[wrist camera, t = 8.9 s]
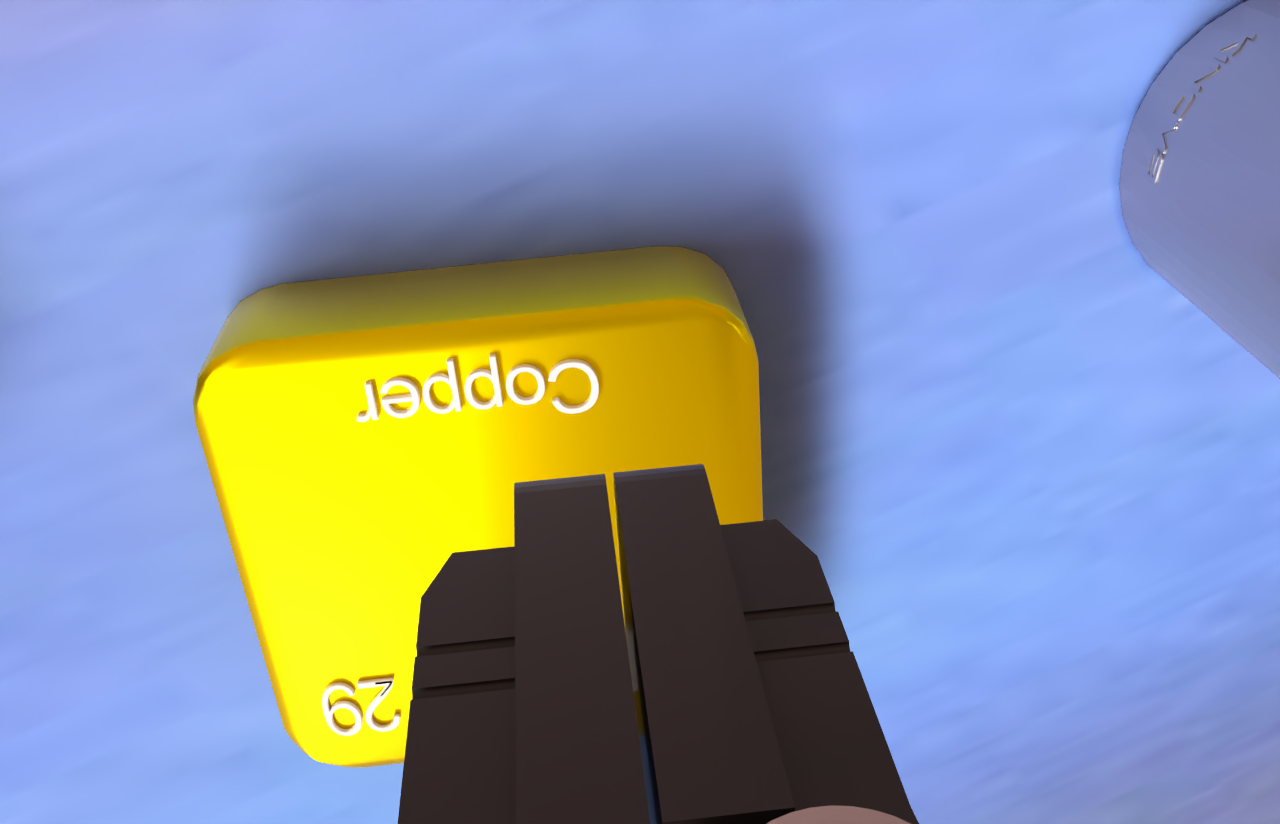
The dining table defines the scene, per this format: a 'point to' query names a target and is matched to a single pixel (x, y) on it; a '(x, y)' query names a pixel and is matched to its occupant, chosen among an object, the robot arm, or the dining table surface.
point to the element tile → (448, 444)
